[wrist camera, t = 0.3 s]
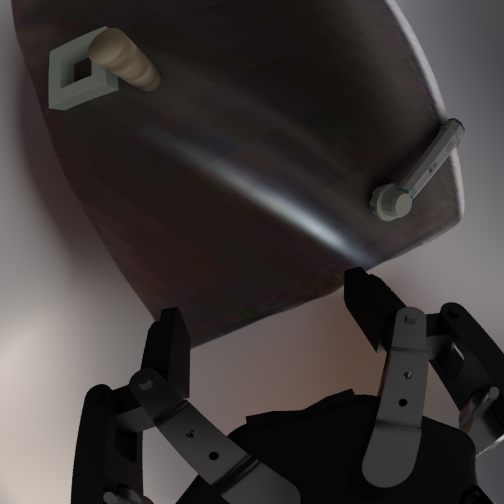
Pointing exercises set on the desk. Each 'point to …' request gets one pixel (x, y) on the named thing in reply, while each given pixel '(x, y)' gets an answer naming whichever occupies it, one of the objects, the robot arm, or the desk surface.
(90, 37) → the socket
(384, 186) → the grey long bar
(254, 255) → the desk surface
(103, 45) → the peg
